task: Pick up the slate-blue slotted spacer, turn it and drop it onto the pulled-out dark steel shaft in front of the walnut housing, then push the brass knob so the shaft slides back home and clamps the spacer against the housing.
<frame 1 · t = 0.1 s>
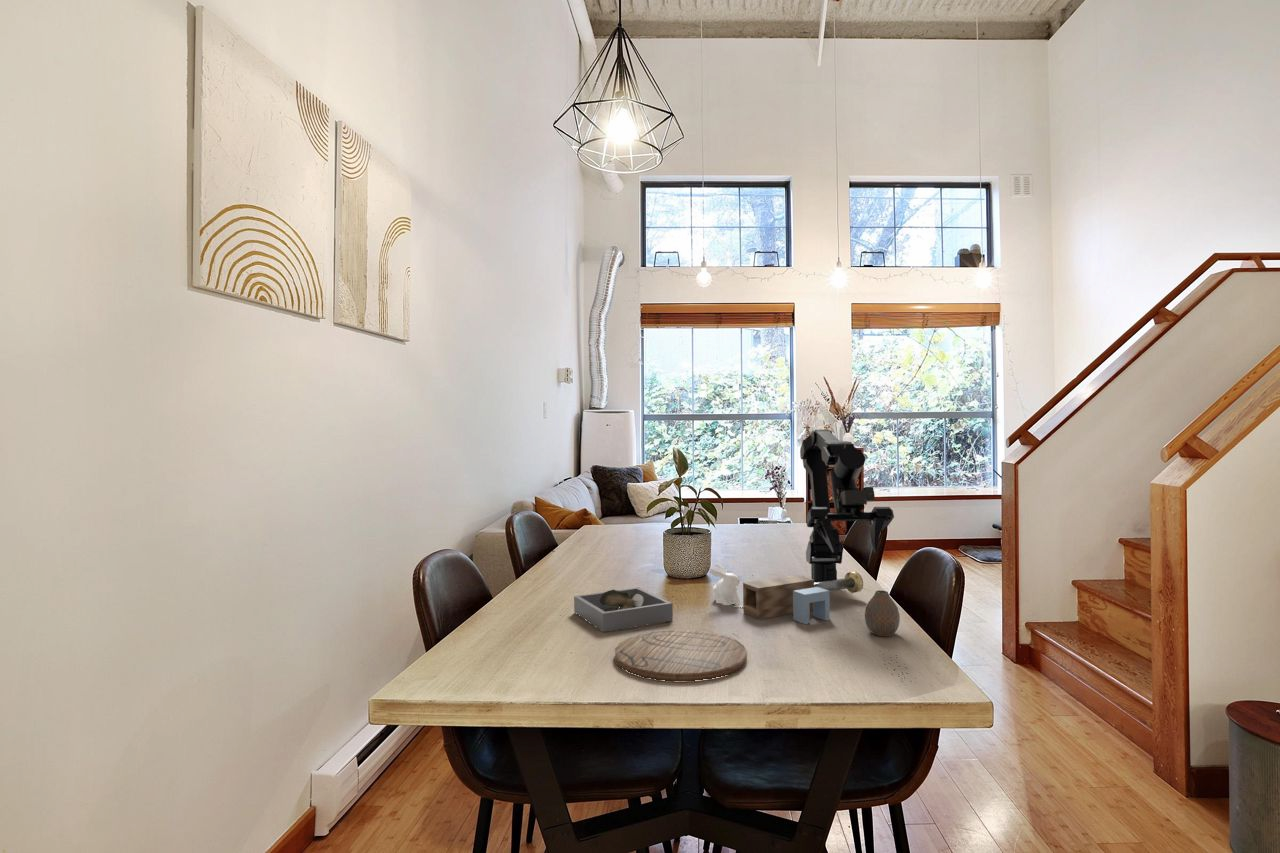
hand: (854, 552, 155), 15 cm above the table, tool tilted 30°, fingers open, 9 cm apart
rabbit figurine: (723, 603, 171), on the table
trivet: (680, 660, 132), on the table
spacer: (811, 619, 156), on the table
housing: (785, 609, 164), on the table
eagle figurine: (621, 618, 160), resting in tray rim
vase: (882, 634, 145), on the table
tray rim: (622, 616, 160), on the table
shaft: (825, 586, 169), point 4 cm above the table, slide at 10.0 cm
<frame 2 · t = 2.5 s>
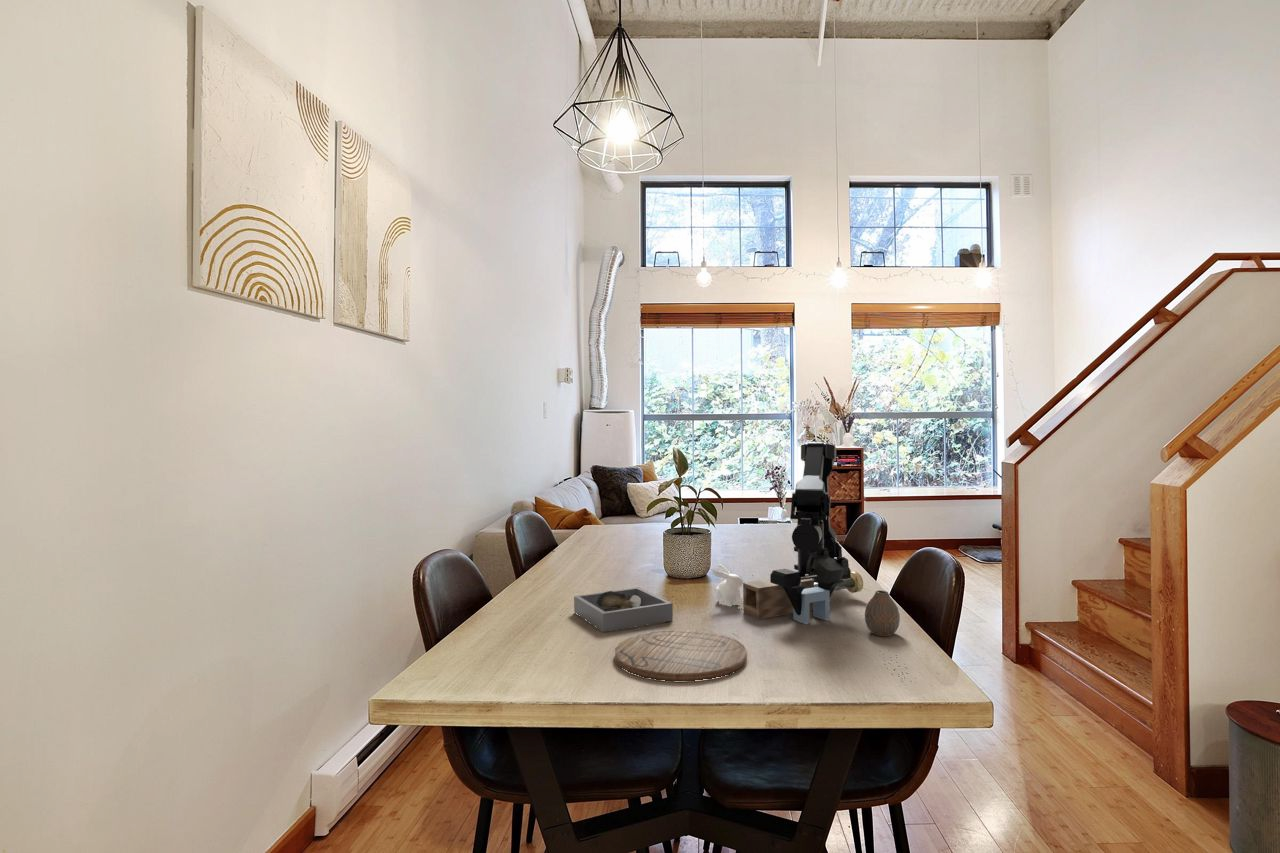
hand: (811, 612, 156), 2 cm above the table, tool pointing down, fingers closed on spacer, 7 cm apart
rabbit figurine: (726, 604, 170), on the table
spacer: (811, 619, 156), on the table, touching gripper
eagle figurine: (619, 619, 159), resting in tray rim
everything else where it was.
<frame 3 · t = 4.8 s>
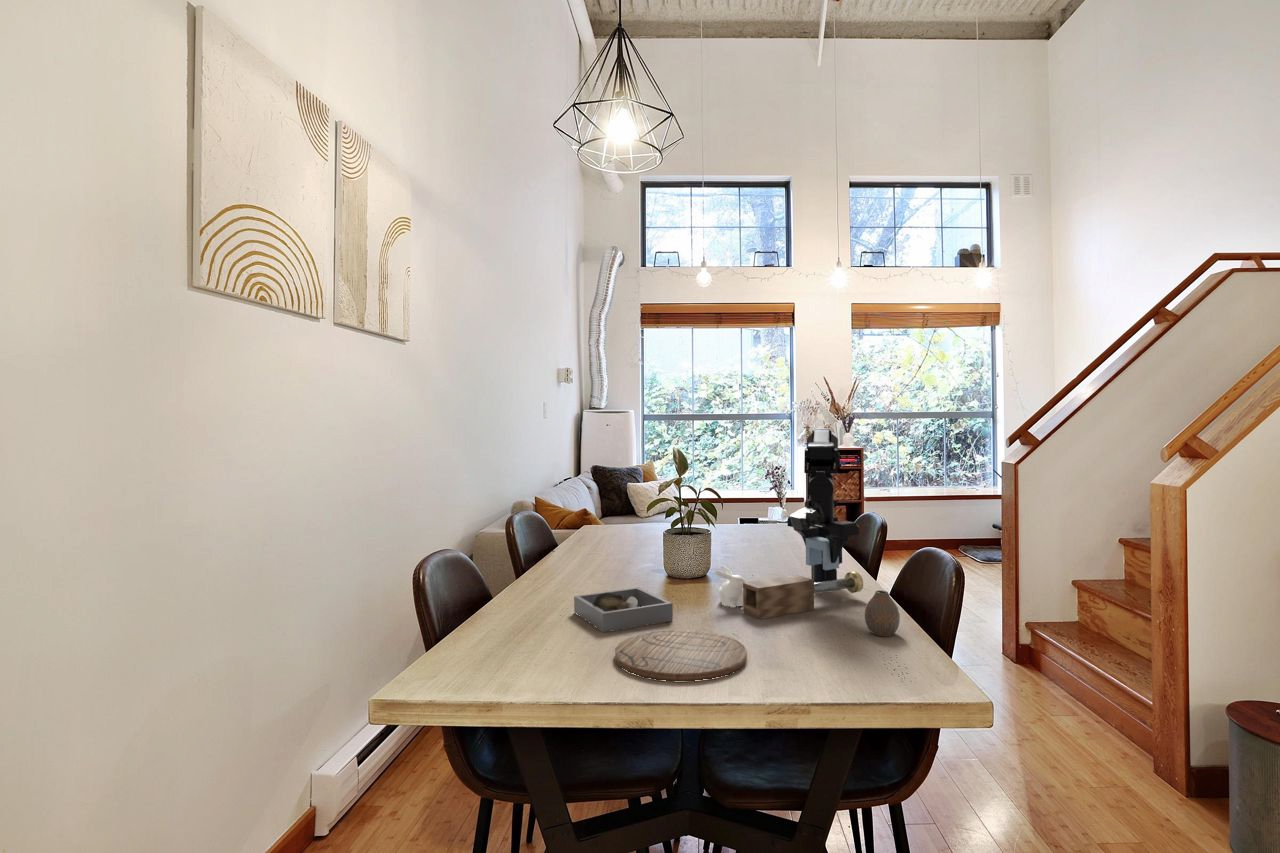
hand: (822, 560, 168), 11 cm above the table, tool pointing down, fingers closed on spacer, 7 cm apart
rabbit figurine: (729, 605, 169), on the table
spacer: (822, 566, 168), point 9 cm above the table, touching gripper
eagle figurine: (615, 621, 157), resting in tray rim
everything else where it was.
when the fingers open (3 cm above the table, at t = 6.9 s): spacer drops 1 cm, resting on shaft.
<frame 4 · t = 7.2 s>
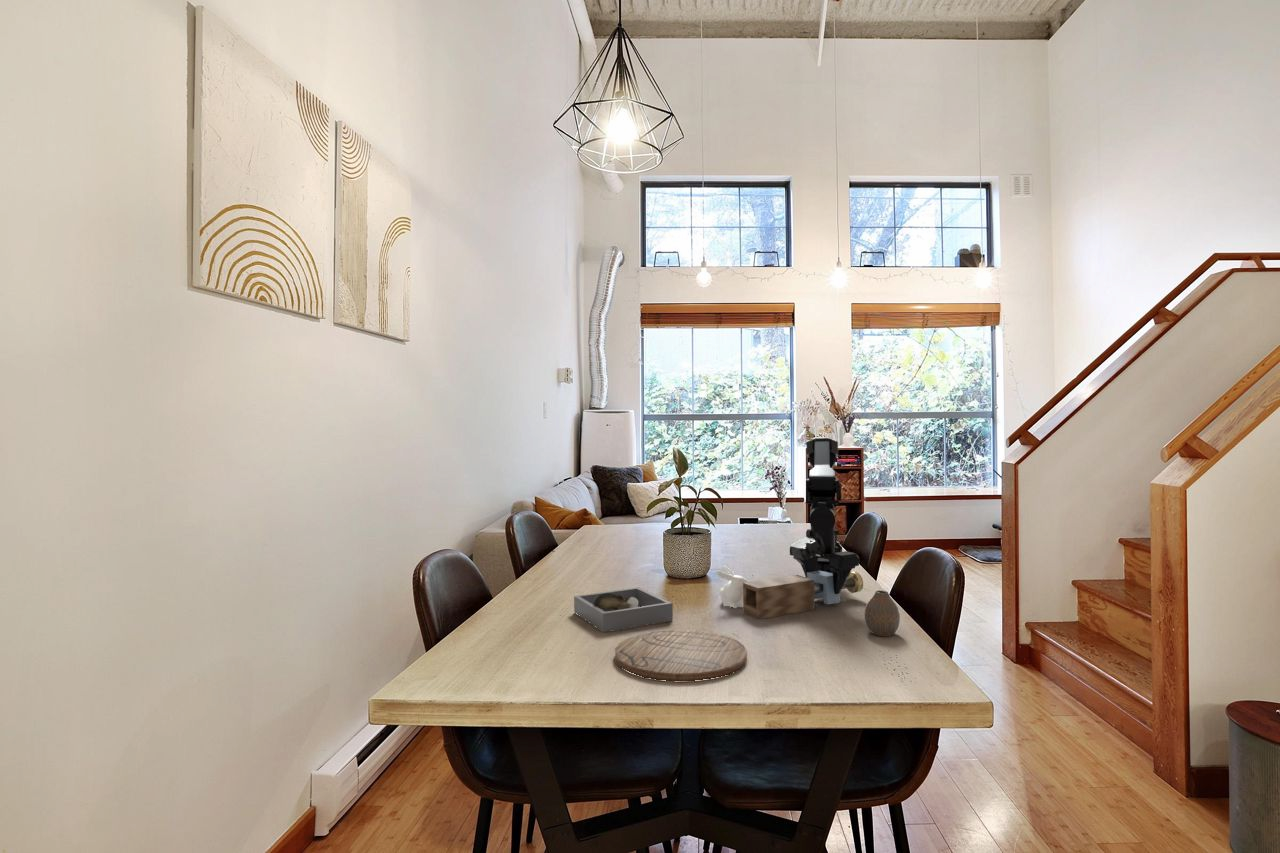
hand: (823, 589, 169), 3 cm above the table, tool pointing down, fingers open, 9 cm apart
spacer: (824, 600, 169), point 1 cm above the table, touching shaft
shaft: (825, 586, 169), point 4 cm above the table, slide at 10.0 cm, touching spacer
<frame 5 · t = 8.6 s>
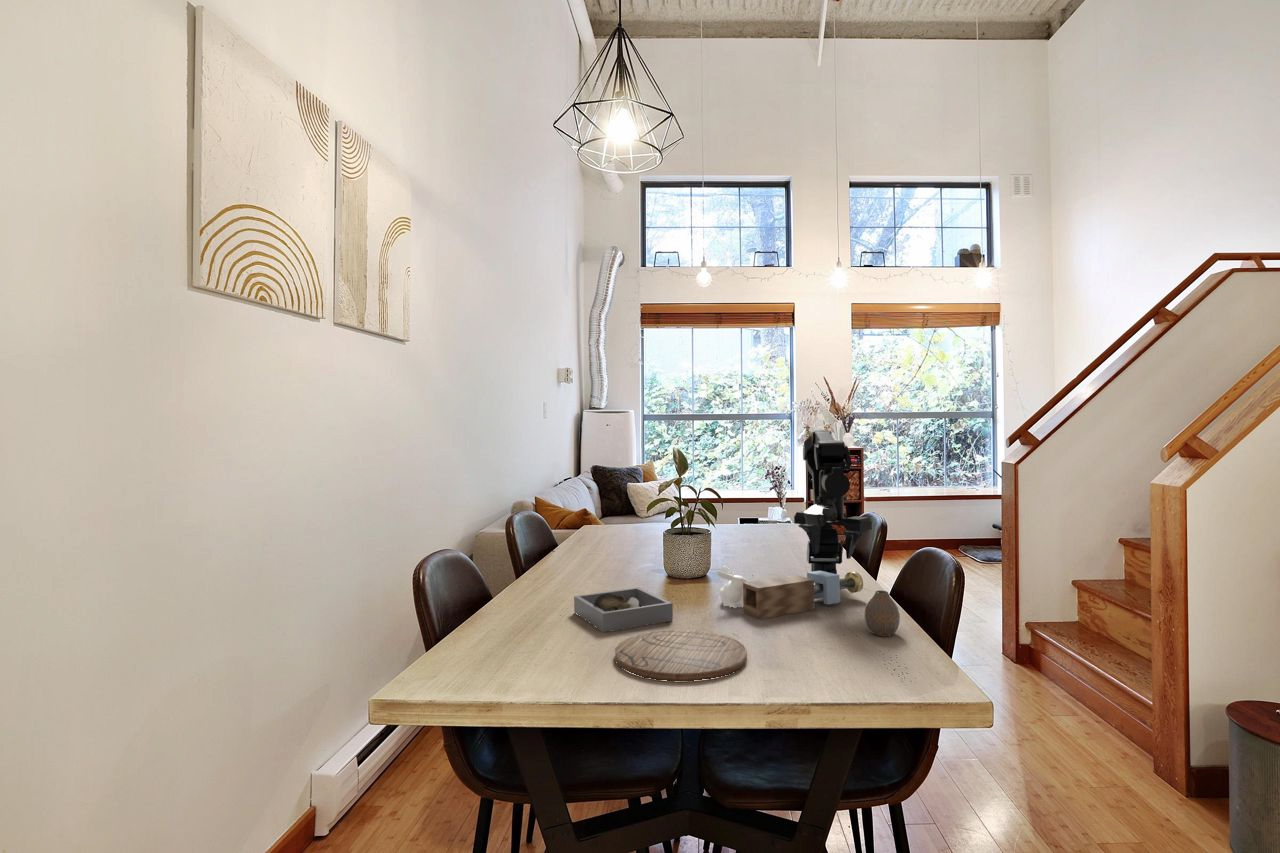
hand: (831, 555, 170), 11 cm above the table, tool pointing down, fingers open, 9 cm apart
rabbit figurine: (731, 606, 168), on the table, touching housing
everything else where it was.
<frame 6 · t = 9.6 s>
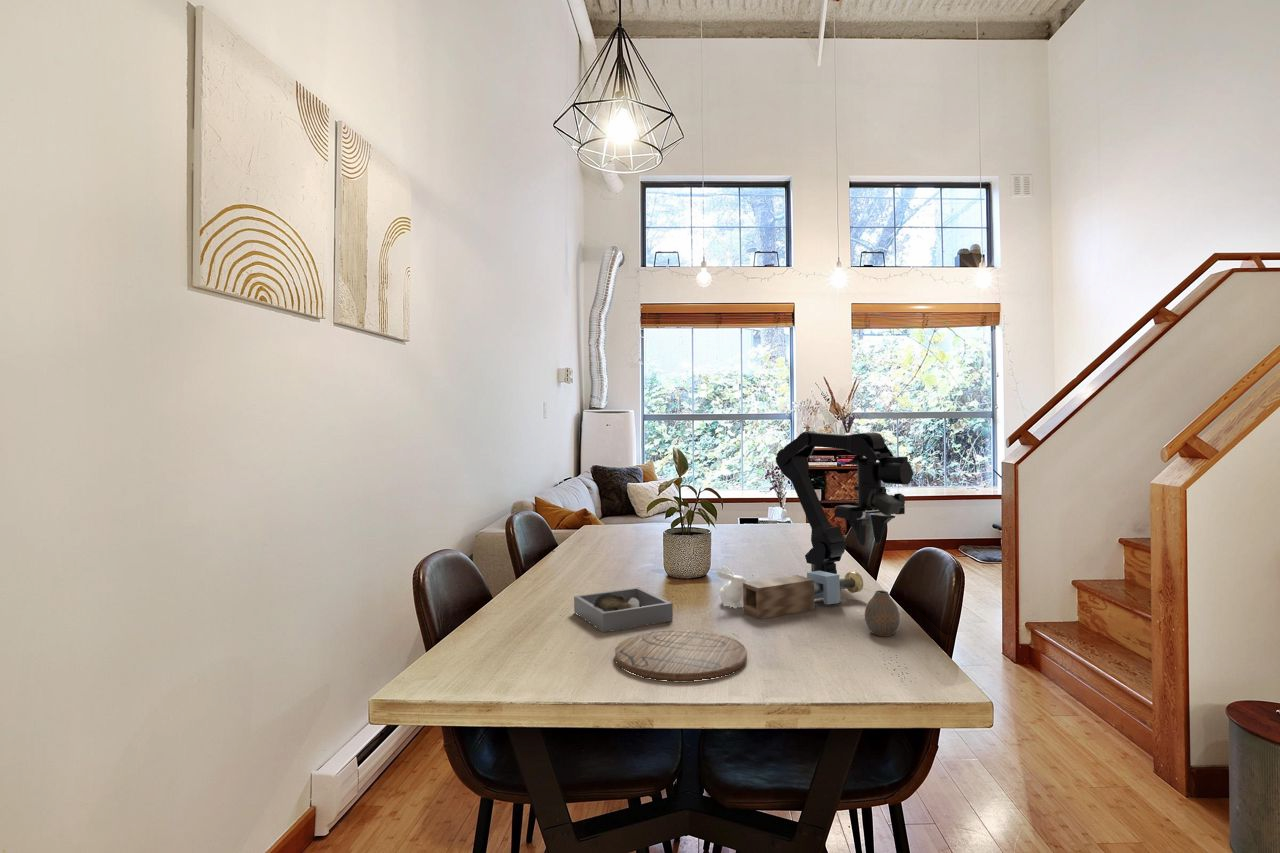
hand: (870, 544, 176), 13 cm above the table, tool pointing down, fingers open, 5 cm apart
rabbit figurine: (731, 606, 168), on the table
everything else where it was.
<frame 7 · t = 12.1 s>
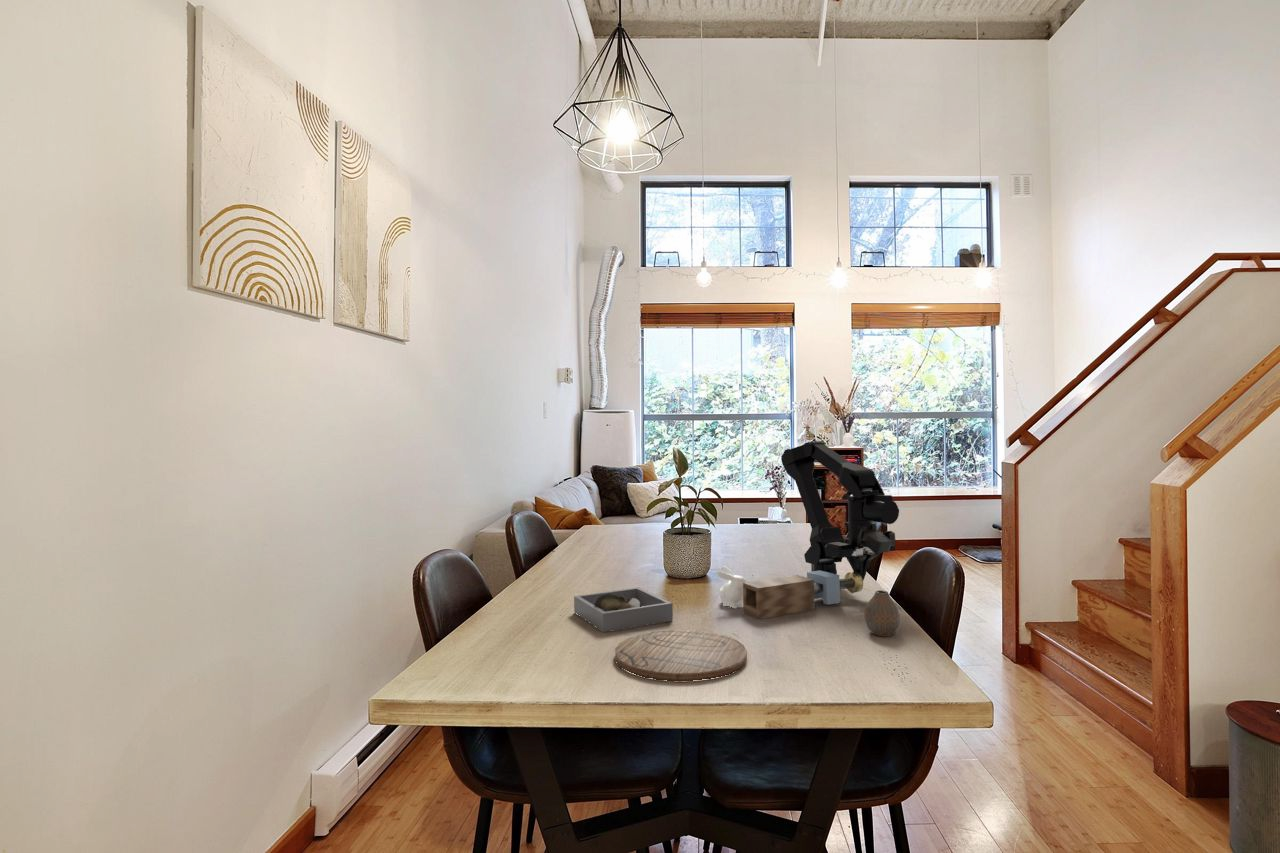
hand: (860, 581, 174), 4 cm above the table, tool pointing down, fingers closed
eagle figurine: (617, 623, 156), resting in tray rim
shaft: (824, 586, 169), point 4 cm above the table, slide at 10.0 cm, touching gripper, spacer
everything else where it was.
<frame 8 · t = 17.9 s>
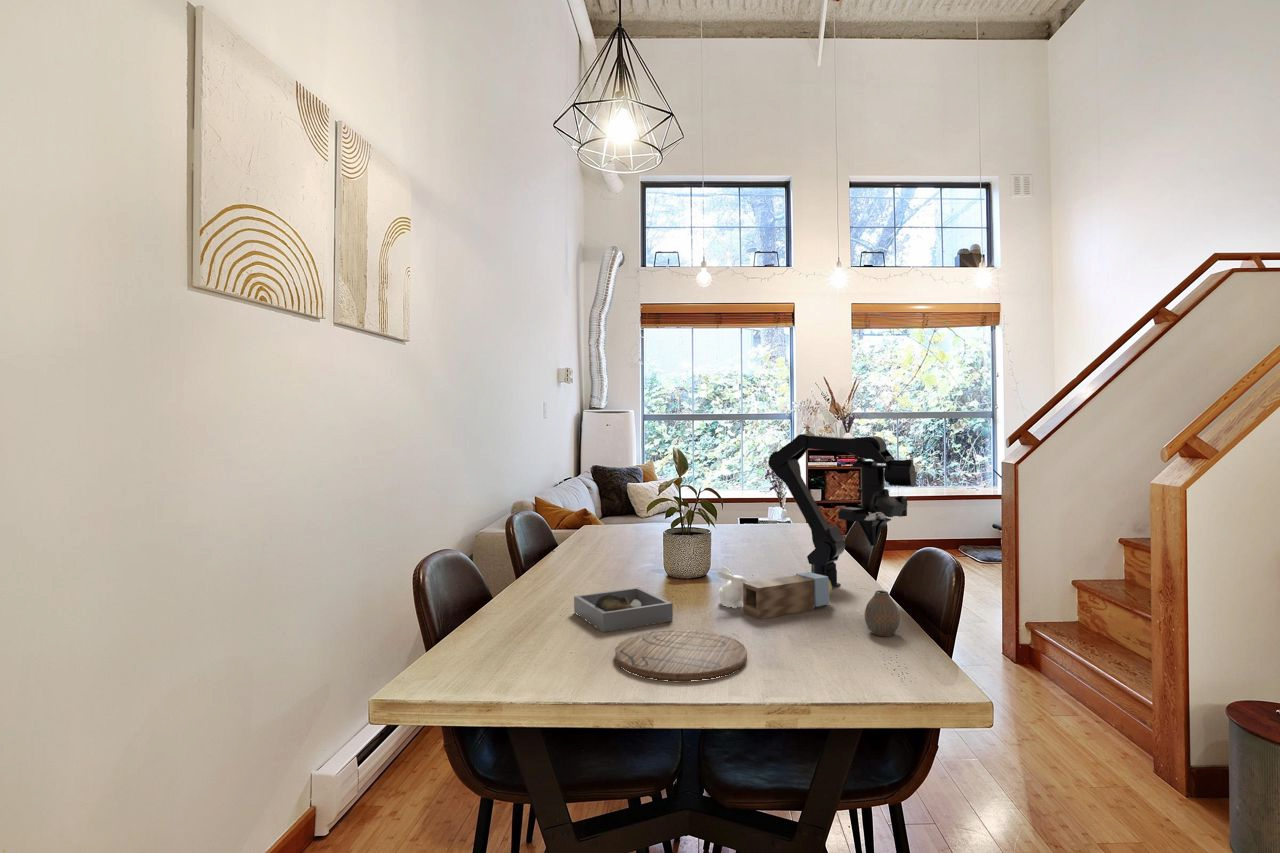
hand: (873, 545, 179), 12 cm above the table, tool pointing down, fingers closed
spacer: (812, 602, 167), point 1 cm above the table, touching shaft
shaft: (792, 591, 164), point 4 cm above the table, slide at 0.0 cm, touching spacer
at the end: shaft slide at 0.0 cm; spacer 0.3 cm from the target spot on the housing, point 0.7 cm above the housing's base; spacer tilted 1° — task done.
